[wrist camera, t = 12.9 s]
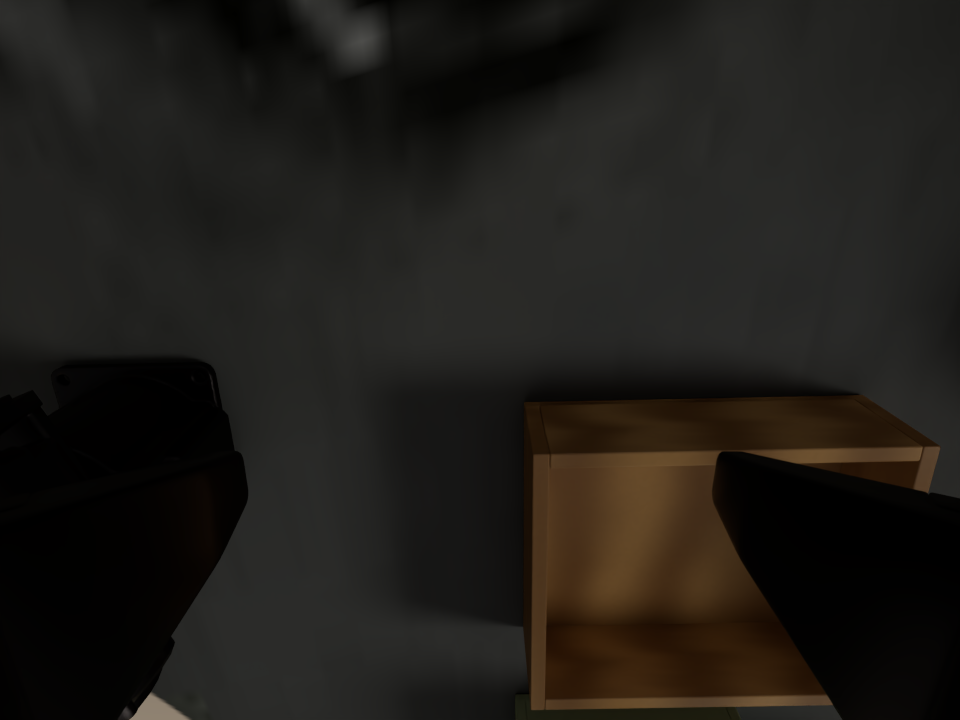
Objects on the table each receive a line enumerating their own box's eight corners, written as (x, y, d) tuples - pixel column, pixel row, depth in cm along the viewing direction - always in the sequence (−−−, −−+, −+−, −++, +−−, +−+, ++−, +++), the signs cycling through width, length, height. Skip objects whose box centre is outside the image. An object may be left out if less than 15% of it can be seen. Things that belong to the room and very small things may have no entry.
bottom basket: (523, 628, 29) (530, 710, 25) (523, 401, 25) (532, 454, 21) (813, 623, 29) (869, 705, 25) (862, 394, 25) (941, 446, 21)
